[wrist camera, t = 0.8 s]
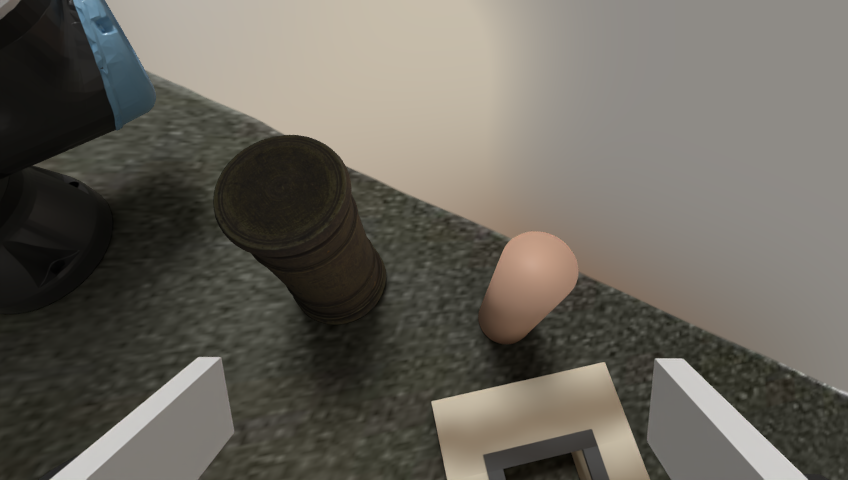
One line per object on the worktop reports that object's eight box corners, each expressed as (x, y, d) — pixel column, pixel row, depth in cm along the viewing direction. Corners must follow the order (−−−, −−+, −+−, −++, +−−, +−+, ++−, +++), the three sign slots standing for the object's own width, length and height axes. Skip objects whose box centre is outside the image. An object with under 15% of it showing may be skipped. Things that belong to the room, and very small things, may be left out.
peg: (472, 298, 40) (491, 239, 27) (521, 288, 40) (562, 224, 28) (486, 349, 38) (513, 310, 25) (537, 338, 38) (590, 294, 25)
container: (401, 265, 42) (382, 161, 25) (354, 343, 38) (295, 281, 22) (329, 228, 43) (267, 108, 27) (278, 299, 40) (173, 212, 24)
